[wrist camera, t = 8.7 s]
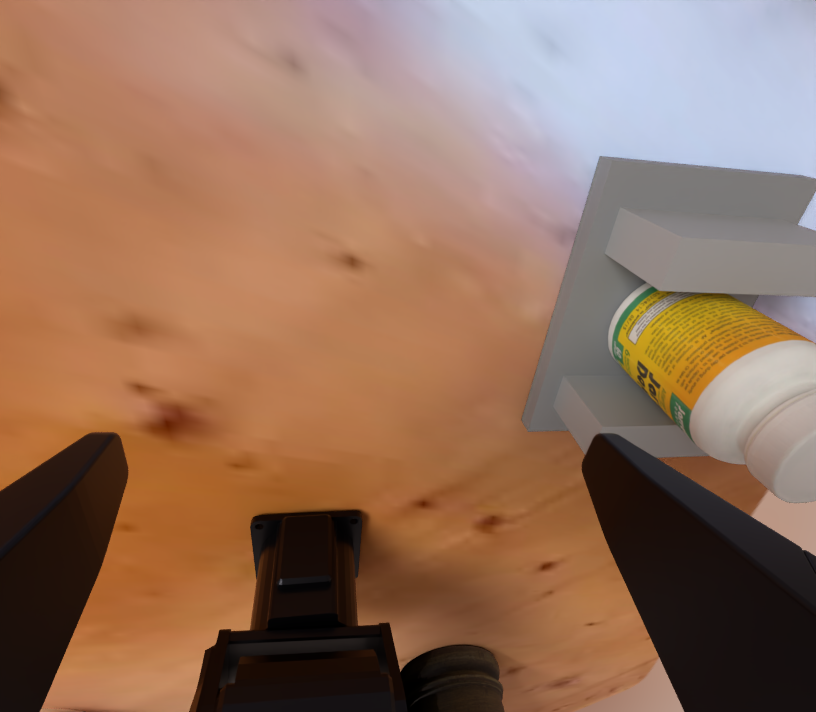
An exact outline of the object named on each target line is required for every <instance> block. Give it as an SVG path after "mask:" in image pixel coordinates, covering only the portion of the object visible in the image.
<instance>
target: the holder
mask: <svg viewBox="0 0 816 712" xmlns="http://www.w3.org/2000/svg"><path fill="white" fill-rule="evenodd" d="M815 191H816V179H815V178H811V177H806V176H802V175H792V174H782V173H771V172H761V171H750V170H740V169H729V168H719V167H708V166H698V165H687V164H677V163H666V162H656V161H645V160H635V159H624V158H614V157H603V156H600V157H599V161H598V164H597V167H596V171H595V174H594V178H593V181H592V184H591V188H590V191H589V194H588V198H587V201H586V204H585V208H584V211H583V215H582V218H581V221H580V225H579V228H578V231H577V235H576V238H575V241H574V245H573V248H572V252H571V255H570V258H569V262H568V265H567V268H566V272H565V275H564V278H563V282H562V285H561V289H560V292H559V295H558V299H557V302H556V305H555V309H554V312H553V315H552V319H551V322H550V326H549V329H548V332H547V336H546V339H545V342H544V346H543V349H542V352H541V356H540V359H539V362H538V366H537V369H536V373H535V376H534V379H533V383H532V386H531V389H530V393H529V396H528V399H527V403H526V406H525V410H524V413H523V416H522V422H523V424H524V426H525V427H526V429H527V431H528V432H533V431H570V433H571V434H572V436H573V437H574V439H575V440H576V442H577V443H578V445H579V446H580V448H581V449H582V451H583V452H584V454H585V455H586V452H587V450H588V448H589V446H590V443H591V441H592V439H593V437H594V436H595V435H596V434H599V433H615V434H618V435H620V436H621V437H623V438H625V439H626V440H628V441H629V442H631V443H633V444H634V445H636V446H638V447H639V448H641V449H642V450H644V451H646V452H647V453H649V454H651V455H652V456H654V457H655V458H662V457H691V456H710V455H708V454H707V453H705V452H704V451H703V450H701V449H700V448H699V447H698V446H697V445H696V444H694V442H693V441H692V440H691V439H690V438H689V437H688V436H687V435H686V434H685V433H684V432H683V431H682V430H681V428H680V427H679V426H678V425H677V424H676V423H675V422H674V421H673V420H672V419H671V418H670V417H669V416H668V415H667V414H666V413H665V412H664V411H663V410H662V409H661V407H660V406H659V405H657V404H656V402H655V401H654V400H653V399H652V398H651V397H650V396H649V395H648V394H647V393H646V392H645V391H644V390H643V389H642V388H641V387H640V386H639V385H638V384H637V383H636V382H635V381H634V380H633V379H632V378H631V377H630V376H629V374H628V373H627V372H626V371H625V370H624V369H623V368H622V367H621V366H620V365H619V364H618V363H617V362H616V361H615V359H614V358H613V357H612V355H611V353H610V351H609V347H608V333H609V327H610V324H611V321H612V318H613V316H614V314H615V312H616V311H617V309H618V308H619V306H620V305H621V304H622V303H623V301H624V300H625V299H626V298H627V297H628V296H629V295H630V294H631V293H632V292H633V291H635V290H636V289H637V288H639V287H640V286H642V285H643V284H645V283H649V284H650V285H652V286H653V287H655V288H656V289H657V290H659V291H674V292H700V293H726V294H729V295H731V296H732V297H734V298H736V299H738V300H739V301H741V302H743V303H745V304H746V305H748V306H750V307H753V305H754V303H755V301H756V300H757V298H758V296H759V295H778V296H804V297H816V231H814V230H811V229H808V228H805V227H802V226H800V225H797V224H798V223H799V221H800V219H801V217H802V215H803V213H804V212H805V210H806V208H807V206H808V204H809V202H810V201H811V199H812V197H813V195H814V193H815Z"/></svg>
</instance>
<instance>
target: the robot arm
mask: <svg viewBox="0 0 816 712" xmlns="http://www.w3.org/2000/svg"><path fill="white" fill-rule="evenodd" d="M582 473H583V476H584V479H585V482H586V485H587V488H588V491H589V493H590V496H591V499H592V502H593V505H594V508H595V511H596V514H597V517H598V520H599V522H600V525H601V528H602V531H603V534H604V536H605V539H606V541H607V544H608V546H609V548H610V551H611V553H612V555H613V557H614V559H615V562H616V564H617V566H618V568H619V570H620V573H621V575H622V577H623V579H624V581H625V583H626V586H627V588H628V590H629V592H630V594H631V596H632V599H633V601H634V603H635V605H636V607H637V610H638V612H639V614H640V616H641V618H642V620H643V623H644V625H645V627H646V629H647V631H648V633H649V636H650V638H651V640H652V642H653V644H654V647H655V649H656V651H657V653H658V655H659V657H660V660H661V662H662V664H663V666H664V668H665V670H666V673H667V675H668V677H669V679H670V681H671V683H672V686H673V688H674V690H675V692H676V694H677V697H678V699H679V701H680V703H681V705H682V707H683V709H684V712H816V556H814V555H813V554H811V553H810V552H808V551H806V550H802V548H801V547H800V546H798V545H796V544H795V543H793V542H792V541H790V540H788V539H787V538H785V537H783V536H782V535H780V534H779V533H777V532H775V531H774V530H772V529H770V528H768V527H767V526H766V525H764V524H762V523H761V522H759V521H757V520H756V519H754V518H753V517H751V516H749V515H748V514H746V513H744V512H743V511H741V510H740V509H738V508H736V507H735V506H733V505H732V504H730V503H728V502H727V501H725V500H723V499H722V498H720V497H719V496H717V495H715V494H714V493H712V492H710V491H709V490H707V489H706V488H704V487H702V486H701V485H699V484H697V483H696V482H694V481H693V480H691V479H689V478H688V477H686V476H685V475H683V474H681V473H680V472H678V471H676V470H675V469H673V468H672V467H670V466H668V465H667V464H665V463H663V462H662V461H660V460H659V459H657V458H655V457H654V456H652V455H651V454H649V453H647V452H646V451H644V450H642V449H641V448H639V447H638V446H636V445H634V444H633V443H631V442H629V441H628V440H626V439H625V438H623V437H621V436H620V435H618V434H615V433H599V434H596V435H595V436H594V437H593V439H592V441H591V443H590V446H589V448H588V450H587V452H586V455H585V457H584V459H583V462H582ZM127 479H128V465H127V461H126V457H125V453H124V449H123V445H122V441H121V438H120V436H119V435H118V434H117V433H114V432H94V433H89V434H87V435H85V436H84V437H82V438H81V439H79V440H78V441H76V442H75V443H73V444H72V445H70V446H68V447H67V448H65V449H64V450H62V451H61V452H59V453H58V454H56V455H55V456H53V457H52V458H50V459H49V460H47V461H46V462H44V463H42V464H41V465H39V466H38V467H36V468H35V469H33V470H32V471H30V472H29V473H27V474H26V475H24V476H23V477H21V478H20V479H18V480H17V481H15V482H13V483H12V484H10V485H9V486H7V487H6V488H4V489H3V490H1V491H0V712H40V710H41V708H42V706H43V703H44V701H45V699H46V696H47V694H48V692H49V689H50V687H51V685H52V682H53V680H54V678H55V675H56V673H57V670H58V668H59V666H60V663H61V661H62V659H63V656H64V654H65V652H66V649H67V647H68V645H69V642H70V640H71V638H72V635H73V633H74V631H75V628H76V626H77V624H78V621H79V619H80V616H81V614H82V612H83V609H84V607H85V605H86V602H87V600H88V598H89V595H90V593H91V591H92V588H93V586H94V584H95V581H96V579H97V576H98V574H99V571H100V569H101V566H102V563H103V560H104V557H105V554H106V551H107V548H108V544H109V541H110V537H111V534H112V531H113V527H114V524H115V521H116V517H117V514H118V510H119V507H120V504H121V500H122V497H123V493H124V490H125V487H126V483H127ZM250 528H251V537H252V545H253V554H254V562H255V571H256V579H257V582H256V590H255V597H254V604H253V611H252V619H251V626H250V630H248V631H231V629H223V630H219V634H218V638H217V643H216V644H215V645H214V646H212V647H211V648H209V649H207V650H205V654H204V659H203V664H202V668H201V673H200V678H199V682H198V686H197V690H196V693H195V696H194V699H193V702H192V705H191V708H190V711H189V712H407V705H406V698H405V692H404V687H403V683H402V678H401V674H400V669H399V665H398V660H397V655H396V651H395V646H394V642H393V637H392V633H391V628H390V624H389V623H379V625H365V626H358V621H357V602H356V583H355V579H356V578H357V577H358V569H359V556H360V543H361V529H362V515H361V513H360V512H359V511H337V512H317V513H298V514H278V515H259V516H255V517H253V519H252V521H251V526H250Z"/></svg>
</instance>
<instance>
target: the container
mask: <svg viewBox="0 0 816 712" xmlns="http://www.w3.org/2000/svg"><path fill="white" fill-rule="evenodd" d="M400 674H401V678H402V683H403V687H404V692H405V698H406V705H407V712H504V708H503V704H502V697H503V686H502V684H501V683H500V682H499V681H498V680H499V666H498V663H497V661H496V659H495V658H494V656H493V655H492V654H491V653H490V652H489V651H487V650H485V649H483V648H479V647H475V646H450V647H444V648H440V649H436V650H433V651H430V652H427V653H425V654H422V655H420V656H418V657H416V658H415V659H413V660H412V661H410V662H409V663H408V664H407V665H406V666H405V667H404V668H403V669H402V671H401V672H400Z"/></svg>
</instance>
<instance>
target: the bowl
mask: <svg viewBox="0 0 816 712" xmlns="http://www.w3.org/2000/svg"><path fill="white" fill-rule="evenodd" d="M40 712H85V711H78V710H71V709H57V708H45V709H41V710H40Z"/></svg>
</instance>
